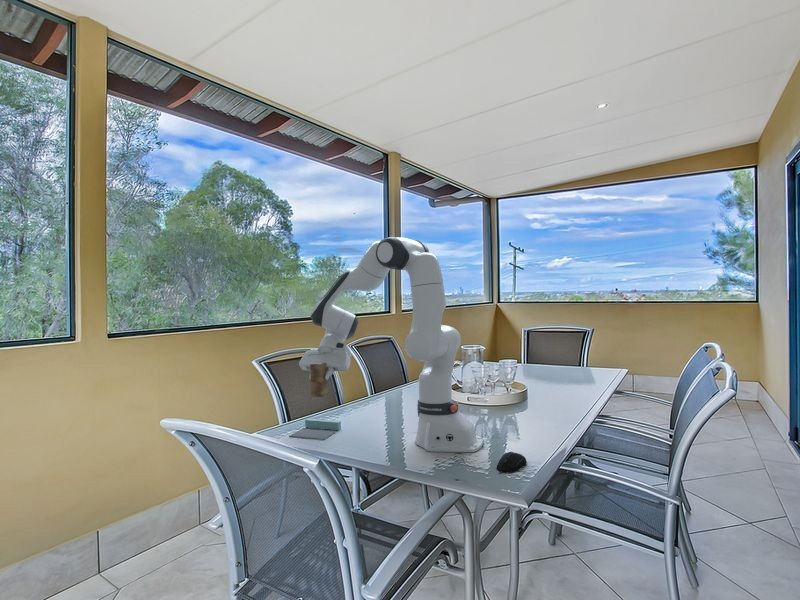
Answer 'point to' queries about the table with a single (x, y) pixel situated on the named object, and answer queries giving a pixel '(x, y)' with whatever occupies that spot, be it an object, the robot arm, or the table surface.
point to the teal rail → (323, 424)
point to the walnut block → (318, 379)
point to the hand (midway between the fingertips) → (318, 378)
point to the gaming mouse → (511, 462)
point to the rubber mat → (312, 434)
